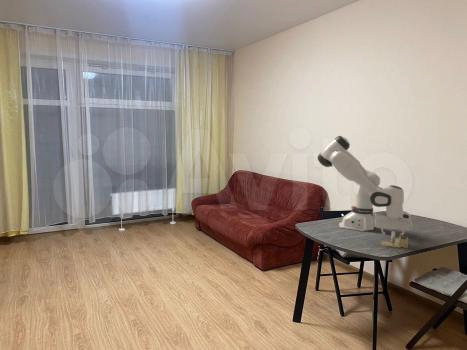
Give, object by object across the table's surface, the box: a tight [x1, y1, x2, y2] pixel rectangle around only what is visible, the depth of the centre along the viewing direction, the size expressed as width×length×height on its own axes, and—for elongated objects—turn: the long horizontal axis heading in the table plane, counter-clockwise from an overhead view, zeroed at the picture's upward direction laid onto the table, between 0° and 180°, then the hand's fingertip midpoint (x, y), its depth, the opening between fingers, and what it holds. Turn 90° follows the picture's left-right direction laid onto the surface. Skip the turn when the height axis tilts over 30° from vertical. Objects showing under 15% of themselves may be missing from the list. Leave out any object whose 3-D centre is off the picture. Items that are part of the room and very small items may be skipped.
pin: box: [390, 229, 396, 242], centre depth 204 cm, size 2×2×8 cm
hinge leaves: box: [381, 236, 409, 249], centre depth 203 cm, size 14×14×5 cm
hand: (392, 236), depth 204 cm, fingers open, 8 cm apart
